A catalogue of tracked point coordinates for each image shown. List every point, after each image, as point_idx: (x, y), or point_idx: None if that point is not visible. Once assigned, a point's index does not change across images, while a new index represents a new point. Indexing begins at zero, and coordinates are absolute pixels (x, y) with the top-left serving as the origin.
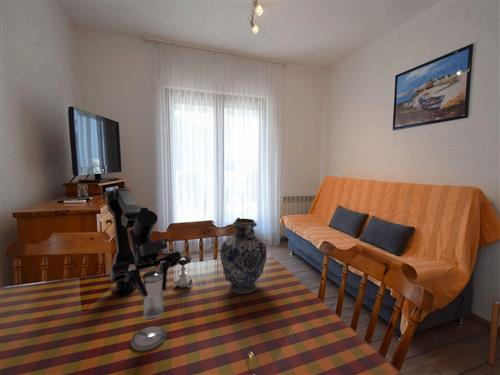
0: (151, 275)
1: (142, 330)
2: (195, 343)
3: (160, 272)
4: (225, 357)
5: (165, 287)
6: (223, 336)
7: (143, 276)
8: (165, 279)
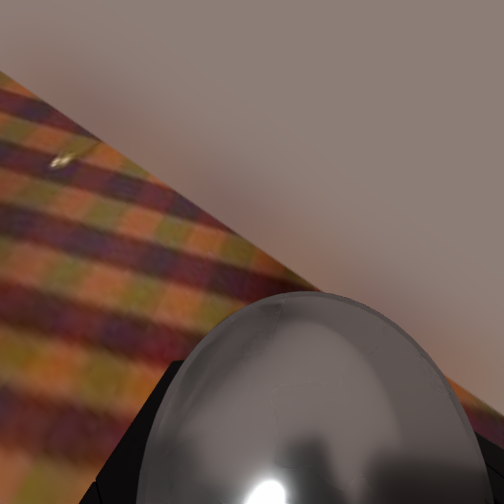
0: (359, 430)
1: None
2: (143, 267)
3: (188, 492)
4: (114, 188)
5: (172, 365)
6: (60, 244)
7: (480, 464)
8: (134, 434)
